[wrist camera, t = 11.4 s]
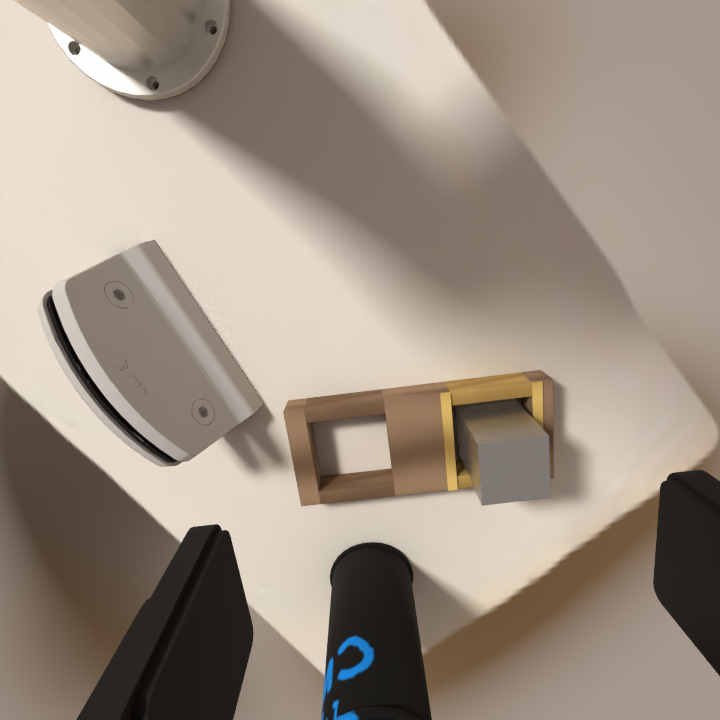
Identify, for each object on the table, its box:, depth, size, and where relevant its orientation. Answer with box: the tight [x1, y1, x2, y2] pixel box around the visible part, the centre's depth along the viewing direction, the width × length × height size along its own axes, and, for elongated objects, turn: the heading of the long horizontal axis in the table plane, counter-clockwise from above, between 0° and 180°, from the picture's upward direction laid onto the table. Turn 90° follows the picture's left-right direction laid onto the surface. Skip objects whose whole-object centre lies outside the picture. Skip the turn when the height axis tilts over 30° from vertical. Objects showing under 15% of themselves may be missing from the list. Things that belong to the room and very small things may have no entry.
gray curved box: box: [38, 240, 264, 466], centre depth 34 cm, size 17×5×10 cm, turn 29°
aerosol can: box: [322, 543, 432, 720], centre depth 34 cm, size 8×8×20 cm
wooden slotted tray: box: [283, 370, 554, 506], centre depth 38 cm, size 9×22×3 cm, turn 97°
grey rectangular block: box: [455, 398, 550, 505], centre depth 36 cm, size 5×5×8 cm
